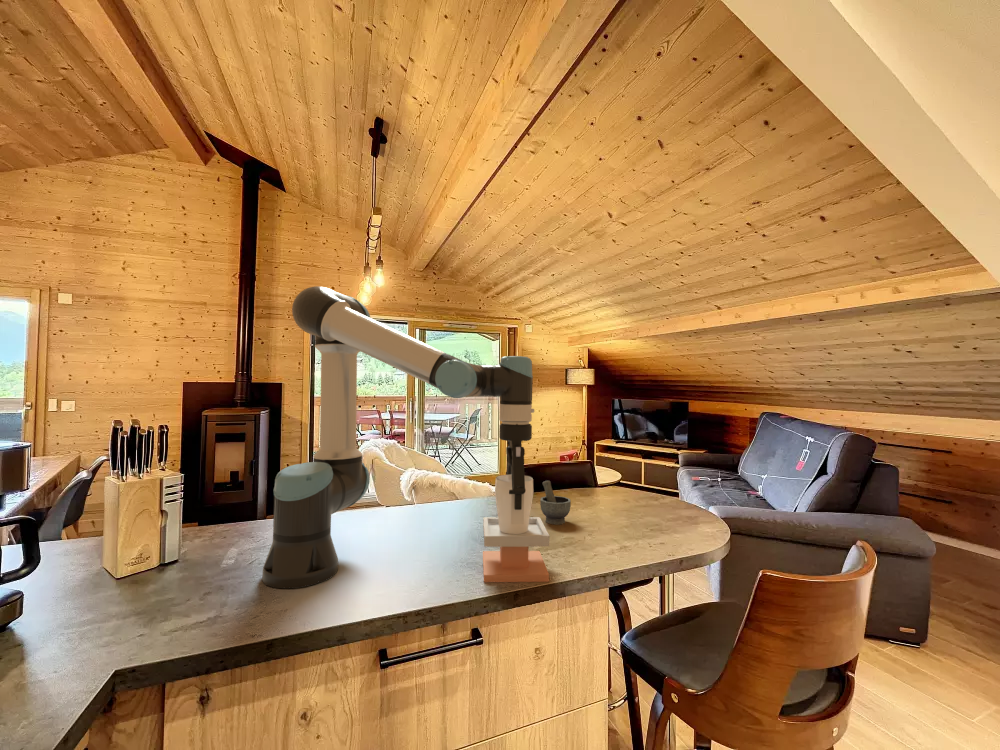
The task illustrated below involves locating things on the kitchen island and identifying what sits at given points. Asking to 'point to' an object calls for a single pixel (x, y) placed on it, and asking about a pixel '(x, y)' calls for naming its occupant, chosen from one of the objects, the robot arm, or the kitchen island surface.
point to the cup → (504, 504)
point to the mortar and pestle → (554, 506)
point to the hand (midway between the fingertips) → (514, 515)
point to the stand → (514, 553)
